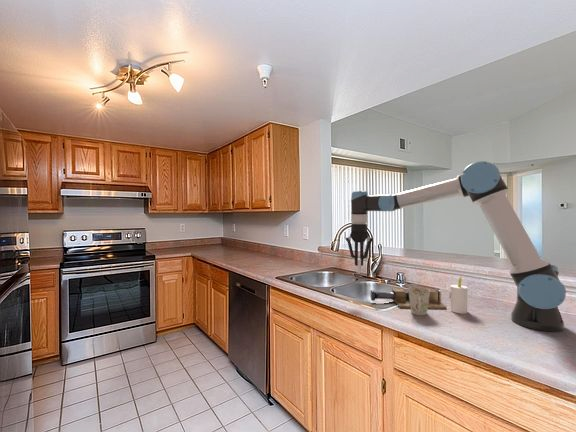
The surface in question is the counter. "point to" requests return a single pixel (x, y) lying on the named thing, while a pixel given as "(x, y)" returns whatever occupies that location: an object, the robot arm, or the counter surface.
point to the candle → (458, 298)
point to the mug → (419, 300)
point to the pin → (384, 295)
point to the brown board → (400, 299)
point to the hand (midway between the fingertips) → (358, 272)
